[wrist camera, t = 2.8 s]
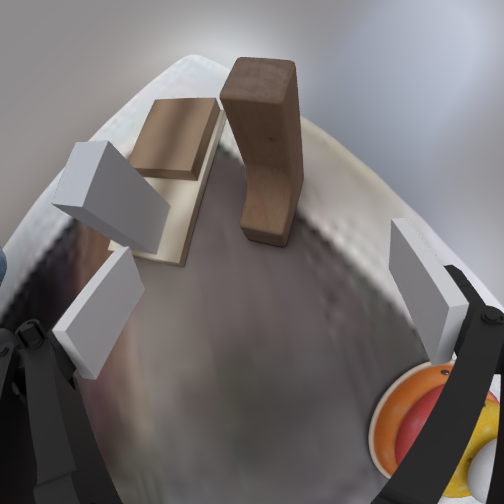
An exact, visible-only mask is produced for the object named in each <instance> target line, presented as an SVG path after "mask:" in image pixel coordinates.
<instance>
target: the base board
mask: <svg viewBox="0 0 504 504" xmlns="http://www.w3.org/2000/svg"><path fill="white" fill-rule="evenodd" d="M226 117H227V116H226V114H225V111H224V110H220V107H219V105H218V102H217V100H216V98H180V99H160V100H155V101H154V103H153V105H152V108H151V110H150V112H149V114H148V116H147V118H146V121H145V123H144V125H143V127H142V130H141V132H140V134H139V137H138V139H137V141H136V144H135V146H134V149H133V151H132V154H131V156H130V159H129V161H128V162H129V163H130V164H131V165H132V166H133V167H134V168H135V169H136V170H137V171H138V173H139V174H140V175H141V176H142V177H143V178H144V179H145V180H146V181H147V182H148V183H149V184H150V185H151V186H152V187H153V188H154V189H155V190H156V191H157V192H158V193H159V194H160V195H161V196H162V198H163V199H164V200H165V201H166V202H167V203H168V204H169V205H170V210H169V213H168V216H167V220H166V223H165V227H164V230H163V234H162V237H161V241H160V244H159V248H158V252H157V255H155V254H150V253H144V252H139V251H134V250H131V253H132V256H133V257H137V258H142V259H147V260H152V261H157V262H162V263H167V264H173V265H178V266H183V267H184V264H185V260H186V256H187V253H188V249H189V245H190V241H191V237H192V233H193V229H194V226H195V222H196V218H197V215H198V211H199V207H200V204H201V200H202V197H203V193H204V190H205V186H206V183H207V179H208V176H209V172H210V169H211V166H212V162H213V159H214V156H215V152H216V149H217V146H218V142H219V139H220V136H221V133H222V130H223V127H224V123H225V120H226ZM121 247H123V246H121V245H120V244H118V243H116V242H114V241H113V240H111V242H110V245H109V248H108V250H110V251H112V252H114V251H115V250H116V249H117V248H121Z"/></svg>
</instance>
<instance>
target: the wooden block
mask: <svg viewBox="0 0 504 504" xmlns="http://www.w3.org/2000/svg"><path fill="white" fill-rule="evenodd" d="M220 100H221V103H222V105H223V108H224V111H225V113H226V116H227V118H228V121H229V124H230V126H231V129H232V132H233V134H234V137H235V140H236V142H237V145H238V148H239V151H240V153H241V156H242V159H243V161H244V164H245V167H246V173H247V191H246V200H245V204H244V208H243V212H242V216H241V219H240V227H241V229H242V231H243V232H244V234H245V236H246V237H247V238H248V239H249V240H253V241H258V242H262V243H266V244H271V245H275V246H279V247H285V246H286V244H287V240H288V237H289V233H290V229H291V225H292V222H293V218H294V214H295V210H296V206H297V202H298V199H299V195H300V191H301V187H302V183H303V179H304V173H303V154H302V139H301V125H300V111H299V99H298V87H297V76H296V67H295V63H294V62H293V61H290V60H280V59H267V58H250V57H240V58H238V59H237V60H236V62H235V64H234V66H233V68H232V70H231V72H230V74H229V76H228V78H227V80H226V82H225V84H224V86H223V88H222V90H221V92H220Z"/></svg>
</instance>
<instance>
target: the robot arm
mask: <svg viewBox="0 0 504 504" xmlns="http://www.w3.org/2000/svg"><path fill="white" fill-rule="evenodd" d="M6 269H7V261H6V257H5V254H4V252H3V250H2V249H1V247H0V286H1V283H2V281H3V278H4V276H5V273H6ZM389 270H390V272H391V274H392V276H393V278H394V280H395V282H396V284H397V286H398V289H399V291H400V293H401V295H402V297H403V299H404V301H405V303H406V306H407V308H408V310H409V312H410V315H411V317H412V319H413V321H414V324H415V326H416V328H417V331H418V333H419V335H420V338H421V340H422V342H423V345H424V347H425V350H426V352H427V355H428V357H429V360H430V362H431V365H432V366H436V365H440V364H445V363H449V362H450V361H451V358H452V355H453V353H454V352H455V354H456V356H457V359H456V361H455V363H454V366H453V368H452V370H451V372H450V375H449V377H448V379H447V381H446V383H445V385H444V387H443V390H442V392H441V394H440V396H439V398H438V400H437V402H436V403H435V405H434V407H433V409H432V411H431V413H430V415H429V417H428V418H427V420H426V422H425V424H424V426H423V427H422V429H421V431H420V433H419V434H418V436H417V438H416V439H415V441H414V443H413V444H412V446H411V448H410V449H409V451H408V452H407V454H406V456H405V457H404V459H403V460H402V462H401V463H400V465H399V466H398V468H397V469H396V471H395V472H394V474H393V475H392V476H391V478H390V479H389V481H388V482H387V484H386V485H385V486H384V488H383V489H382V490H381V492H380V493H379V494H378V495H377V496H376V497H375V499H374V500H373V501H372V502H371V504H437V503H438V501H439V500H440V498H441V496H442V495H443V493H444V491H445V489H446V487H447V486H448V484H449V482H450V480H451V478H452V476H453V474H454V472H455V471H456V469H457V467H458V465H459V463H460V460H461V458H462V456H463V454H464V452H465V450H466V448H467V445H468V443H469V441H470V439H471V436H472V434H473V432H474V429H475V427H476V424H477V422H478V419H479V417H480V414H481V411H482V409H483V406H484V403H485V400H486V397H487V395H488V392H489V389H490V385H491V382H492V379H493V376H494V374H501V391H500V412H499V425H498V435H497V443H496V451H495V458H494V464H493V470H492V476H491V481H490V486H489V491H488V495H487V500H486V504H504V313H503V312H502V311H500V310H499V309H497V308H495V307H492V306H486V304H485V303H484V301H483V300H482V298H481V297H480V296H479V294H478V293H477V291H476V290H475V289H474V287H473V286H472V285H471V283H470V282H469V280H467V278H466V276H465V275H464V274H463V272H462V271H461V270H459V269H458V268H456V267H455V266H453V265H447V266H443V265H442V263H441V262H440V261H439V259H438V258H437V257H436V255H435V254H434V253H433V251H432V250H431V249H430V247H429V246H428V245H427V243H426V242H425V241H424V240H423V238H422V237H421V236H420V234H419V233H418V232H417V231H416V229H415V228H414V227H413V226H412V224H411V223H410V222H409V221H408V219H407V218H396V219H391V242H390V259H389ZM144 291H145V288H144V286H143V283H142V281H141V278H140V275H139V272H138V270H137V267H136V264H135V262H134V259H133V256H132V253H131V250H130V247H121V248H117V249H116V250H115V251H114V252H113V253H112V255H111V256H110V257H109V258H108V259H107V261H106V262H105V263H104V264H103V265H102V267H101V268H100V269H99V270H98V271H97V273H96V274H95V275H94V276H93V278H92V279H91V280H90V281H89V282H88V284H87V285H86V286H85V287H84V289H83V290H82V291H81V293H80V294H79V295H78V296H77V298H76V299H75V300H73V301H72V302H71V303H70V304H69V305H68V306H67V307H66V309H65V310H64V312H63V313H62V314H61V315H60V318H58V319H57V321H56V322H55V323H54V325H53V326H52V327H51V329H50V330H49V331H48V333H47V334H46V332H45V331H44V329H43V327H42V326H41V324H40V322H39V321H38V320H37V319H31V320H28V321H26V322H25V323H23V324H22V325H21V326H20V327H18V329H17V330H12V329H5V328H1V329H0V504H123V503H122V501H121V500H120V498H119V495H118V493H117V491H116V489H115V487H114V484H113V482H112V480H111V478H110V475H109V473H108V471H107V468H106V466H105V463H104V461H103V458H102V456H101V453H100V451H99V448H98V445H97V443H96V440H95V437H94V434H93V431H92V429H91V426H90V423H89V420H88V417H87V413H86V410H85V407H84V404H83V401H82V397H81V394H80V390H79V387H78V383H77V380H76V378H75V377H74V375H73V373H74V372H75V370H76V369H77V370H78V372H79V373H80V375H81V376H82V378H87V379H94V380H96V379H97V377H98V375H99V373H100V371H101V369H102V367H103V365H104V363H105V361H106V359H107V358H108V356H109V354H110V352H111V350H112V348H113V346H114V344H115V343H116V341H117V339H118V337H119V335H120V333H121V331H122V330H123V328H124V326H125V324H126V322H127V321H128V319H129V317H130V315H131V313H132V312H133V310H134V308H135V306H136V305H137V303H138V301H139V299H140V298H141V296H142V294H143V292H144ZM37 466H38V471H39V476H40V480H41V483H40V484H38V485H37Z"/></svg>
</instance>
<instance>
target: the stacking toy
mask: <svg viewBox="0 0 504 504" xmlns="http://www.w3.org/2000/svg"><path fill="white" fill-rule="evenodd" d="M454 363H455V360H451V361H450V362H449V363H445V364H440V365H436V366H432V365H431V362H430V361H429V362H426V363H423V364H420V365H418V366H416V367H414V368H412V369H411V370H409V371H407V372H406V373H404V374H403V375H402V376H400V377H399V378H398V379H397V380H396V381H395V382H394V383H393V384H392V385H391V386H390V387H389V388H388V390H387V391H386V392H385V393H384V395H383V396H382V398H381V399H380V401H379V403H378V405H377V407H376V409H375V411H374V413H373V416H372V419H371V423H370V428H369V439H368V440H369V449H370V454H371V457H372V460H373V462H374V464H375V465H376V467H377V468H378V470H379V471H380V472H381V473H382V474H383V475H384V476H386V477H387V478H388V479H390V478H391V476H392V475H393V474H394V472H395V471H396V469H397V468H398V466H399V465H400V463H401V462H402V460H403V459H404V457H405V456H406V454H407V452H408V451H409V449H410V448H411V446H412V444H413V443H414V441H415V439H416V438H417V436H418V434H419V433H420V431H421V429H422V427H423V426H424V424H425V422H426V420H427V418H428V417H429V415H430V413H431V411H432V409H433V407H434V405H435V403H436V402H437V400H438V398H439V396H440V394H441V392H442V390H443V387H444V385H445V383H446V381H447V379H448V377H449V375H450V372H451V370H452V368H453V366H454ZM499 412H500V403H499V402H498V400H497V398H496V397H495V396H494V395H493V393H491V392H490V391H489V392H488V395H487V397H486V400H485V403H484V406H483V409H482V411H481V414H480V417H479V419H478V422H477V424H476V427H475V429H474V432H473V434H472V436H471V439H470V441H469V443H468V445H467V448H466V450H465V452H464V454H463V456H462V458H461V460H460V463H459V465H458V467H457V469H456V471H455V472H454V474H453V476H452V478H451V480H450V482H449V484H448V486H447V487H446V489H445V491H444V493H443V495H442V496H444V497H448V498H462V497H467V496H471V495H472V496H473V497H474V498H475V499H476V500H478V501H479V502H481V503H484V504H486V500H487V495H488V491H489V486H490V481H491V476H492V470H493V464H494V458H495V451H496V443H497V435H498V425H499Z"/></svg>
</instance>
